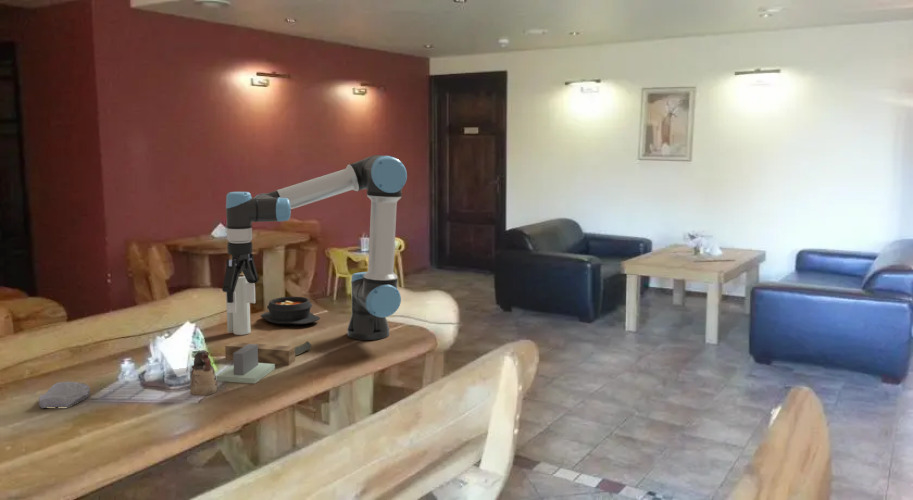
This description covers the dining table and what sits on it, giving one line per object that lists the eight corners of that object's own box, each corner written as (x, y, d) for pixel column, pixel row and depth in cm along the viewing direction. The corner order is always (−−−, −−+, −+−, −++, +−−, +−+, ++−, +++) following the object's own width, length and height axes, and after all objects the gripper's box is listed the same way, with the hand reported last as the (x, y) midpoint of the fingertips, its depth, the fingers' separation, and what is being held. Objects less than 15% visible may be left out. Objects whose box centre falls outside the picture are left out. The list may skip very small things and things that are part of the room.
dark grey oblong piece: (283, 360, 238) (283, 349, 237) (275, 357, 241) (274, 346, 241) (317, 353, 247) (316, 342, 246) (308, 350, 250) (308, 339, 250)
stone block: (92, 399, 207) (55, 393, 206) (94, 383, 206) (57, 377, 205) (74, 417, 195) (35, 411, 194) (76, 400, 195) (37, 394, 193)
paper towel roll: (254, 332, 270) (252, 274, 266) (241, 336, 265) (238, 277, 261) (240, 329, 274) (238, 272, 270) (227, 333, 268) (225, 275, 265)
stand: (274, 368, 229) (274, 343, 228) (254, 383, 215) (253, 357, 214) (238, 366, 231) (237, 341, 230) (216, 380, 218) (215, 354, 216)
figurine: (210, 385, 214) (208, 345, 212) (222, 391, 209) (220, 350, 207) (186, 391, 209) (184, 350, 207) (197, 397, 204) (195, 355, 202)
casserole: (330, 321, 287) (330, 300, 286) (296, 332, 271) (296, 309, 270) (284, 312, 300) (283, 292, 299) (249, 322, 284) (248, 301, 283)
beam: (295, 361, 237) (294, 346, 236) (289, 366, 233) (288, 350, 232) (233, 356, 242) (232, 341, 241) (225, 360, 238) (225, 345, 237)
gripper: (245, 235, 245) (247, 298, 248) (209, 246, 220) (211, 316, 224) (267, 236, 243) (268, 299, 247) (232, 247, 219) (234, 317, 222)
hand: (241, 307), depth 235 cm, fingers open, 13 cm apart
